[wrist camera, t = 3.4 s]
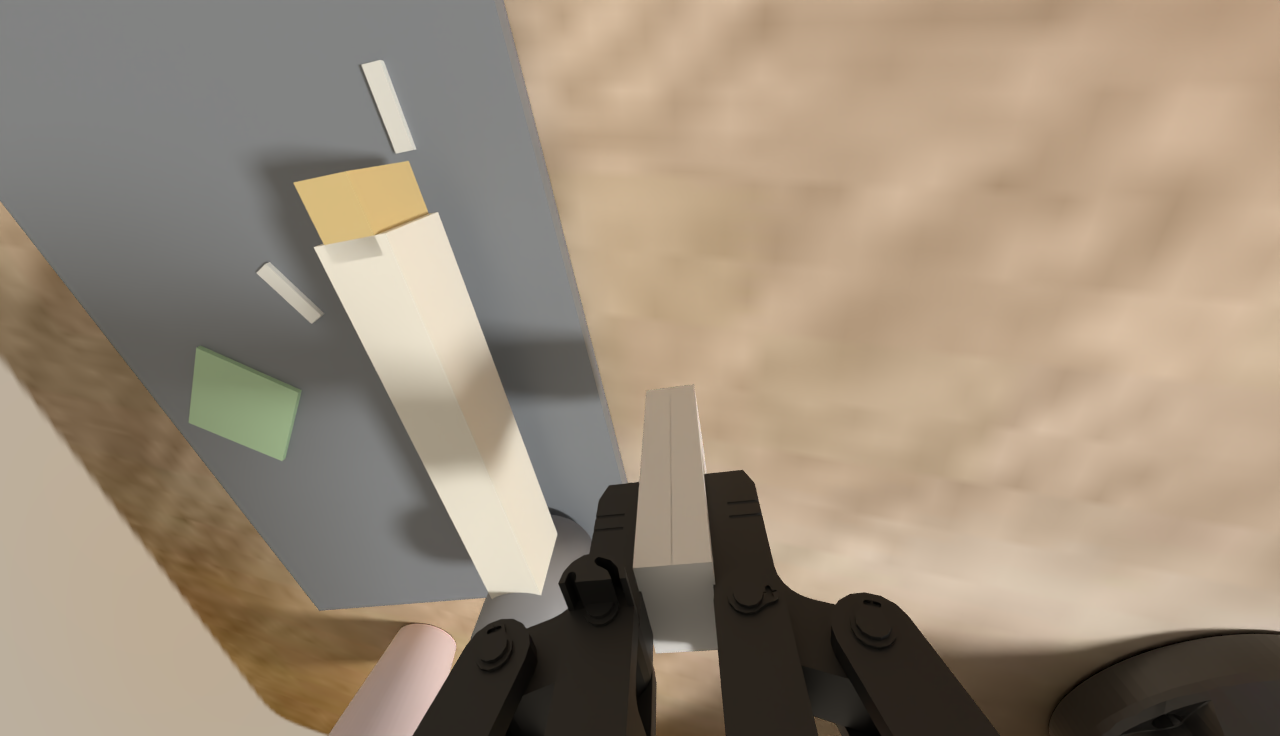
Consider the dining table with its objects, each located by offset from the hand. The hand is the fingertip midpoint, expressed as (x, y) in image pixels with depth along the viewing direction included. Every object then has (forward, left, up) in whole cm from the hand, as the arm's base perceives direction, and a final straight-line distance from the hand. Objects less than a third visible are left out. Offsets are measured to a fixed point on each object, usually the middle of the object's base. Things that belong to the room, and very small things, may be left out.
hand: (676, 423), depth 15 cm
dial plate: (+2, +13, -5) cm, 14 cm away
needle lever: (-1, +7, -3) cm, 8 cm away
